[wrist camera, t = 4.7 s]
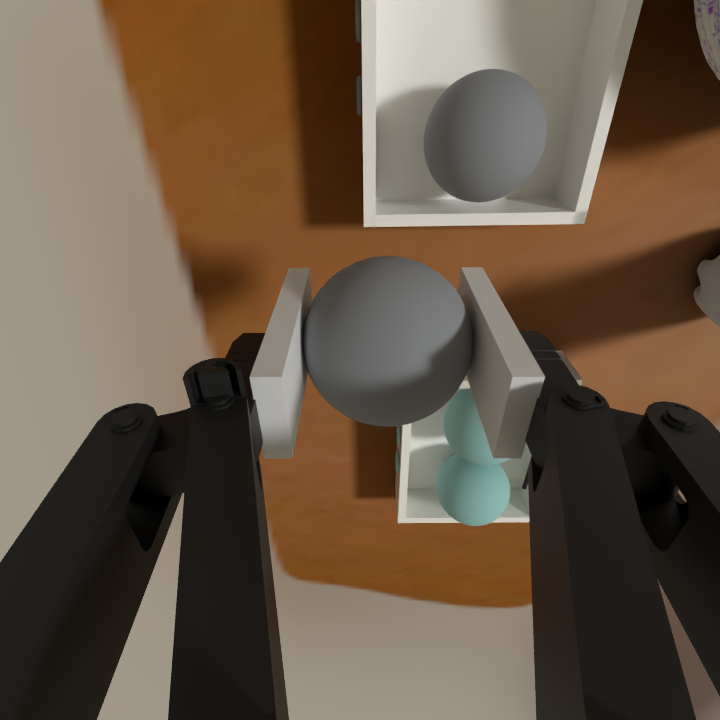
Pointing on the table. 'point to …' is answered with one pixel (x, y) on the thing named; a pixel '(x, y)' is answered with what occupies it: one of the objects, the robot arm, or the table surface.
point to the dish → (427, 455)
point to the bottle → (709, 289)
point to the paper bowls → (709, 31)
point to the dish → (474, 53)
